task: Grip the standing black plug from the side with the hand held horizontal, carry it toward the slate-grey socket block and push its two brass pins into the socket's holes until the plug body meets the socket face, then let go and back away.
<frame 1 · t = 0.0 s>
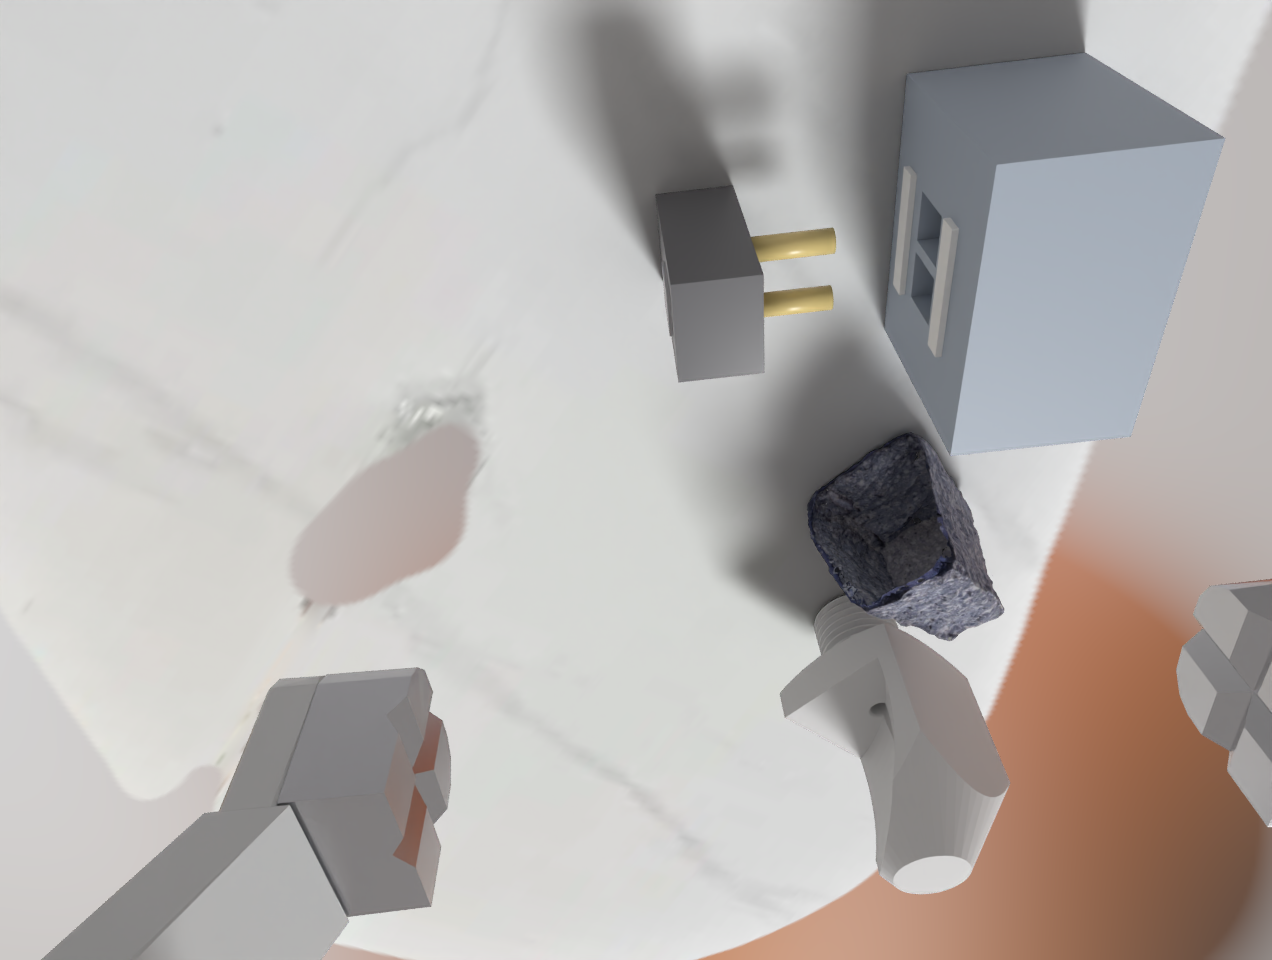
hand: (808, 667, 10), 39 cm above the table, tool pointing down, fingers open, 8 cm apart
stone: (890, 492, 60), on the table
socket: (979, 203, 47), on the table
plug: (696, 235, 48), on the table
light fixture: (851, 615, 68), on the table
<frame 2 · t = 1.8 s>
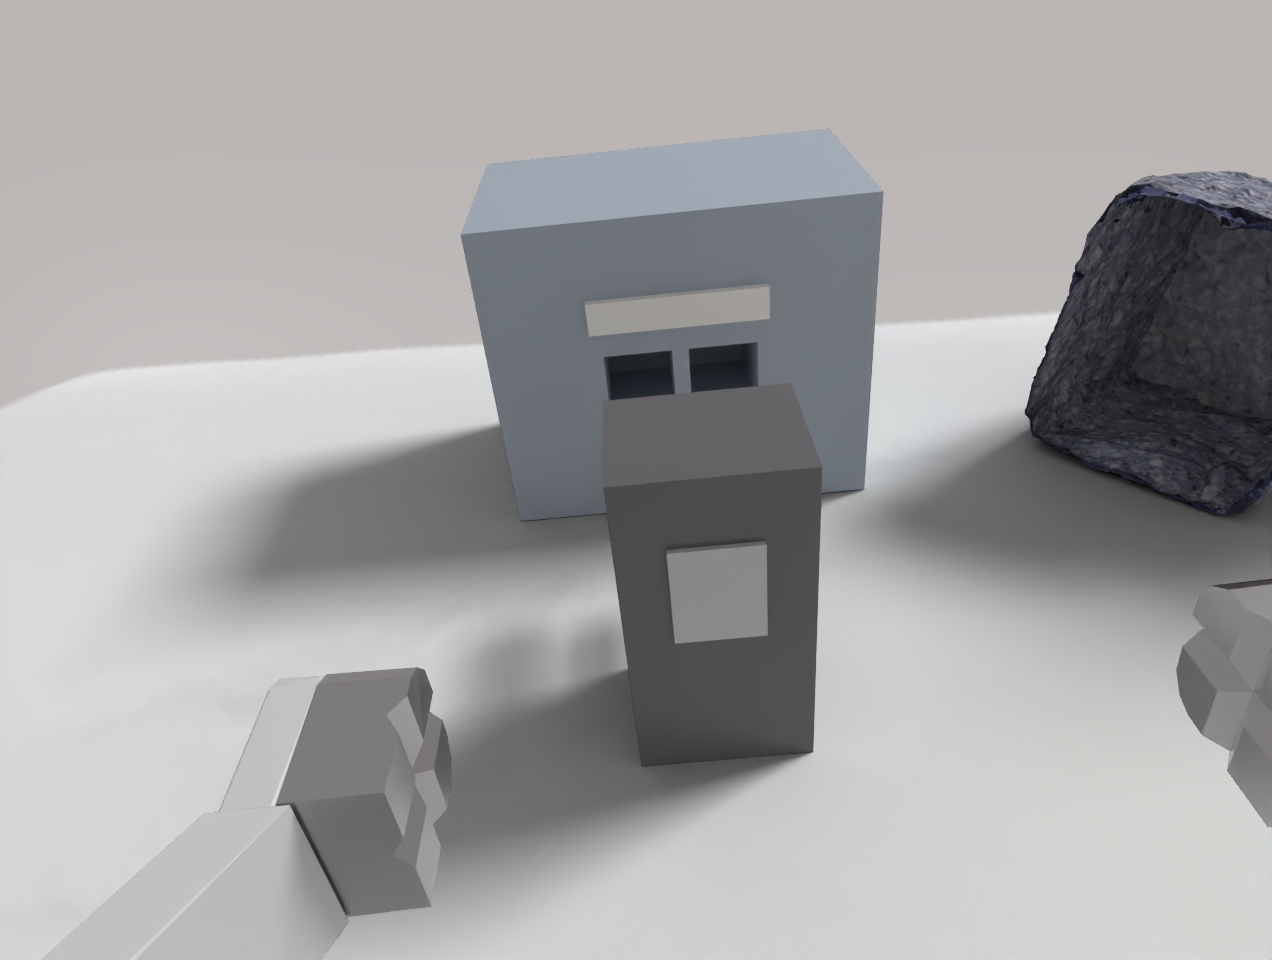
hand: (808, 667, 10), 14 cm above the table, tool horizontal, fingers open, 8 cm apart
stone: (1168, 444, 37), on the table
socket: (682, 445, 40), on the table
plug: (719, 706, 28), on the table
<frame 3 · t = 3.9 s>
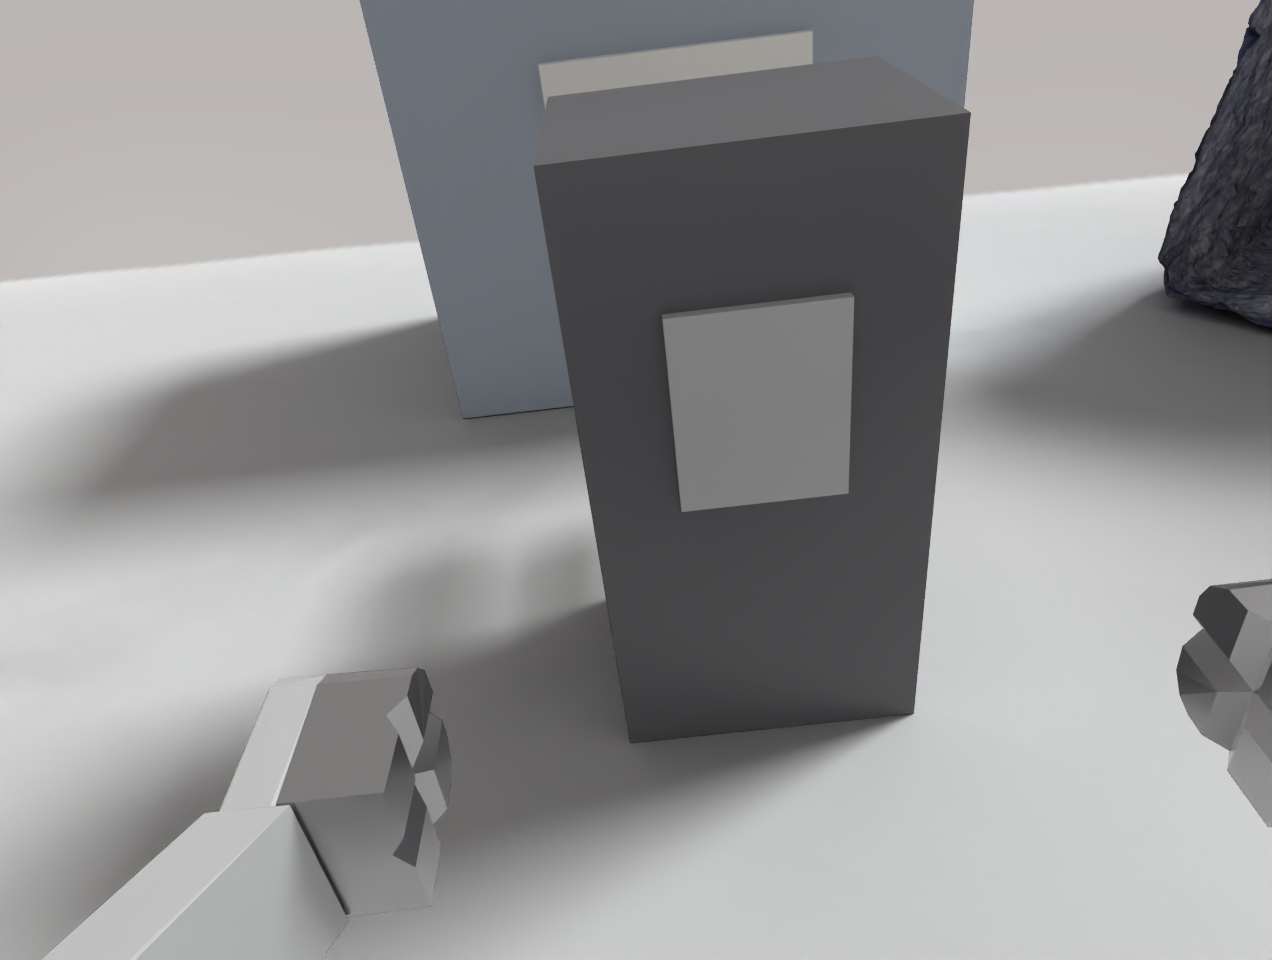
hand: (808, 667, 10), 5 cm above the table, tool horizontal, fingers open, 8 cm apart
socket: (686, 327, 30), on the table
plug: (754, 647, 17), on the table
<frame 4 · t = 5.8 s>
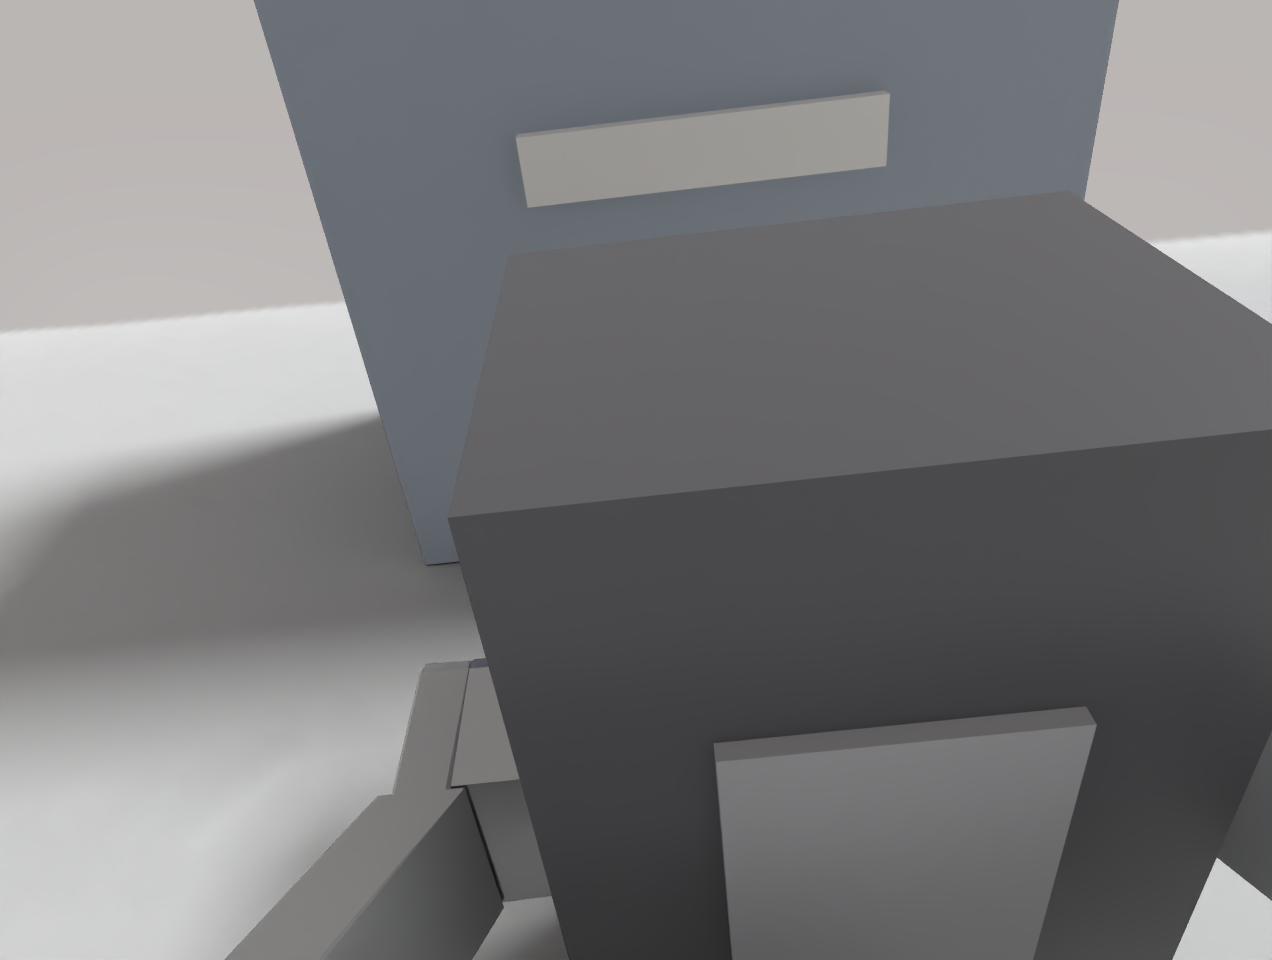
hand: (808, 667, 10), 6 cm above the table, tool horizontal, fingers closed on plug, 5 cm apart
socket: (705, 433, 24), on the table
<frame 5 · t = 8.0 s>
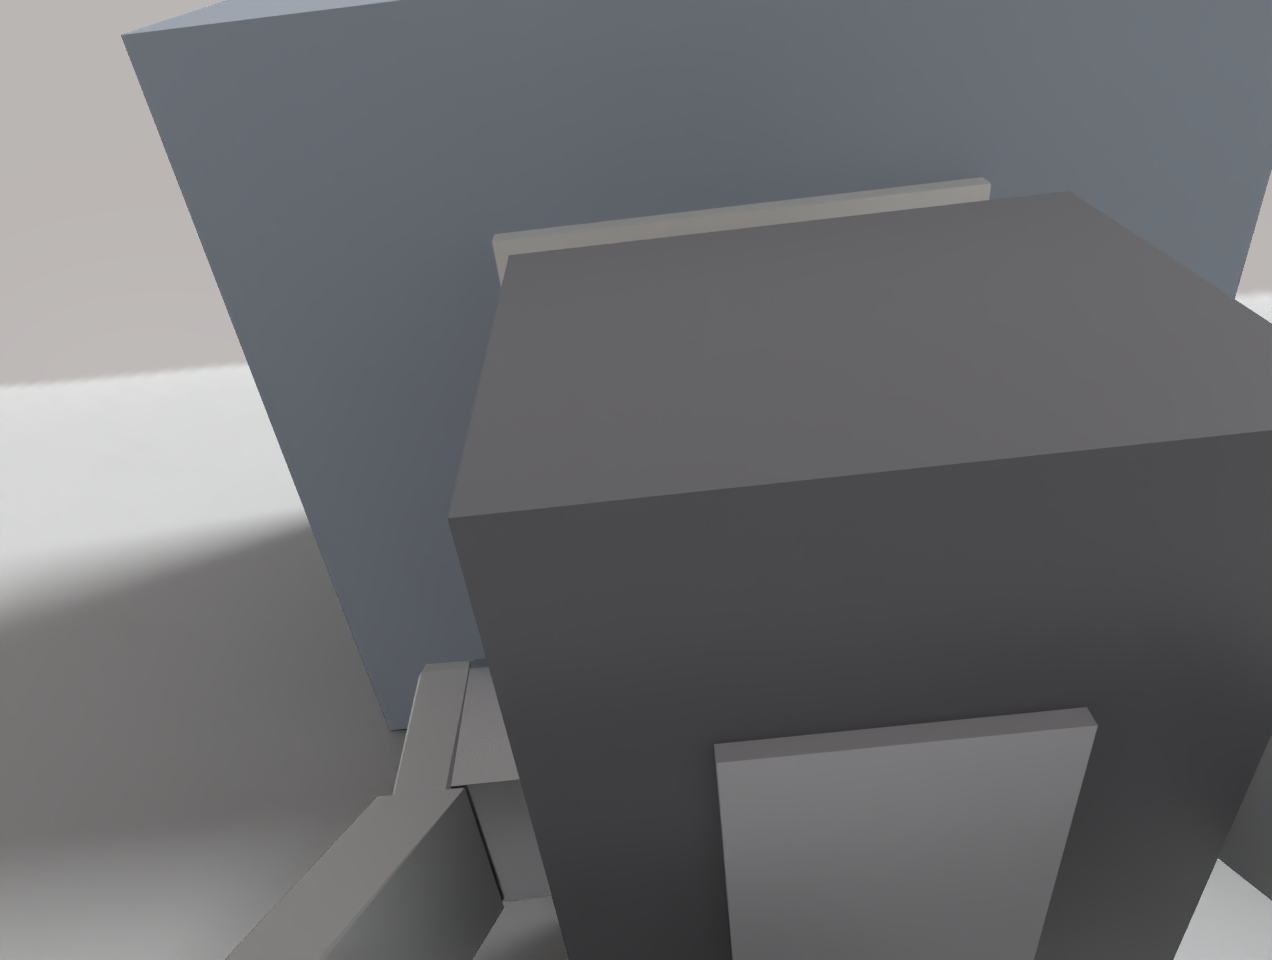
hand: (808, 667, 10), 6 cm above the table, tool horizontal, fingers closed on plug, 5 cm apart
socket: (727, 544, 21), on the table
when the fingers open (6 cm above the table, at t = 10.1 s): plug stays where it is, on the table.
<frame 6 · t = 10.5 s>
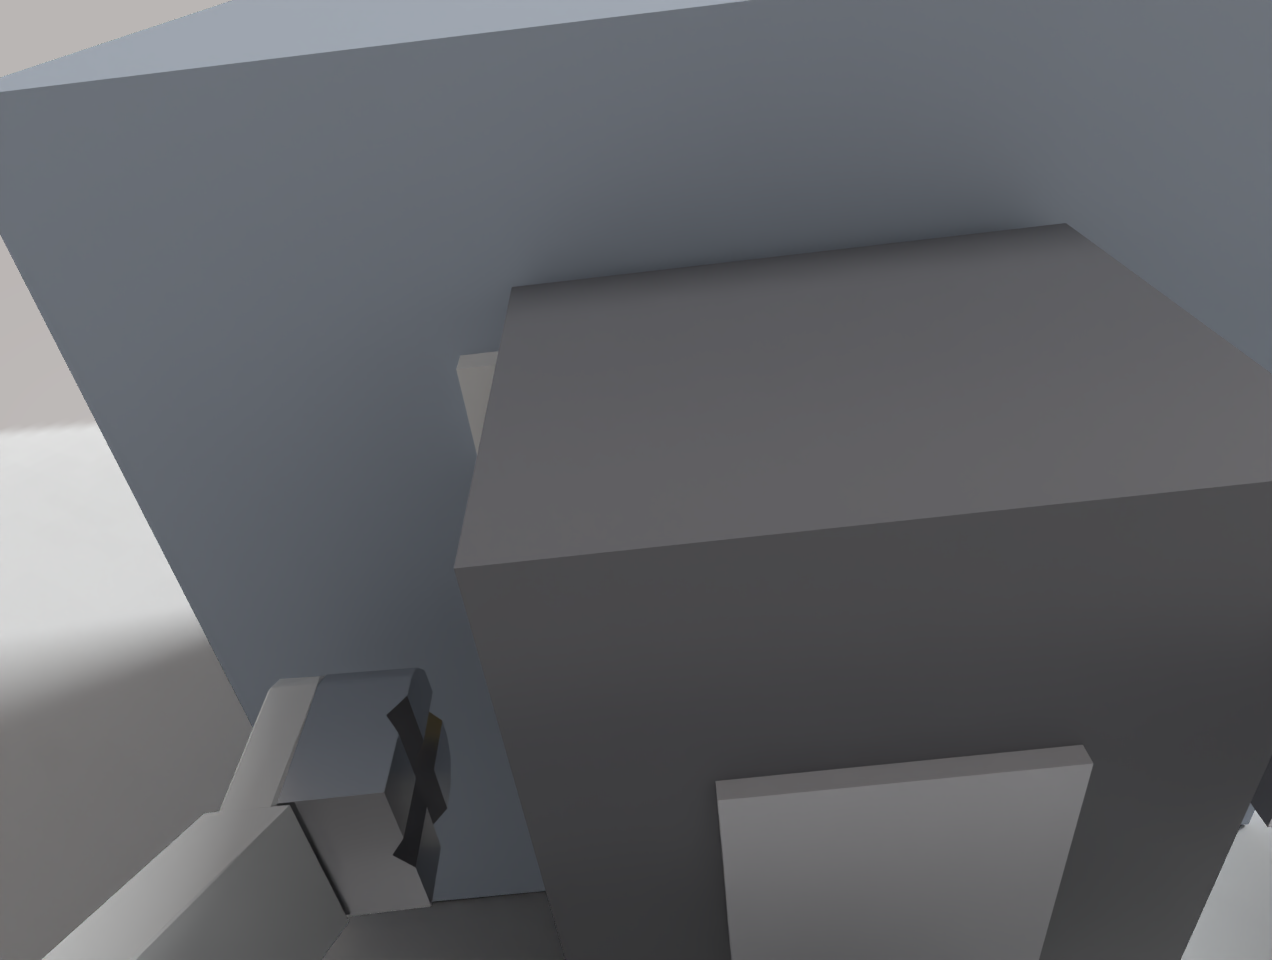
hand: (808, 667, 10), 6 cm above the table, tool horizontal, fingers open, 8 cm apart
socket: (749, 657, 18), on the table
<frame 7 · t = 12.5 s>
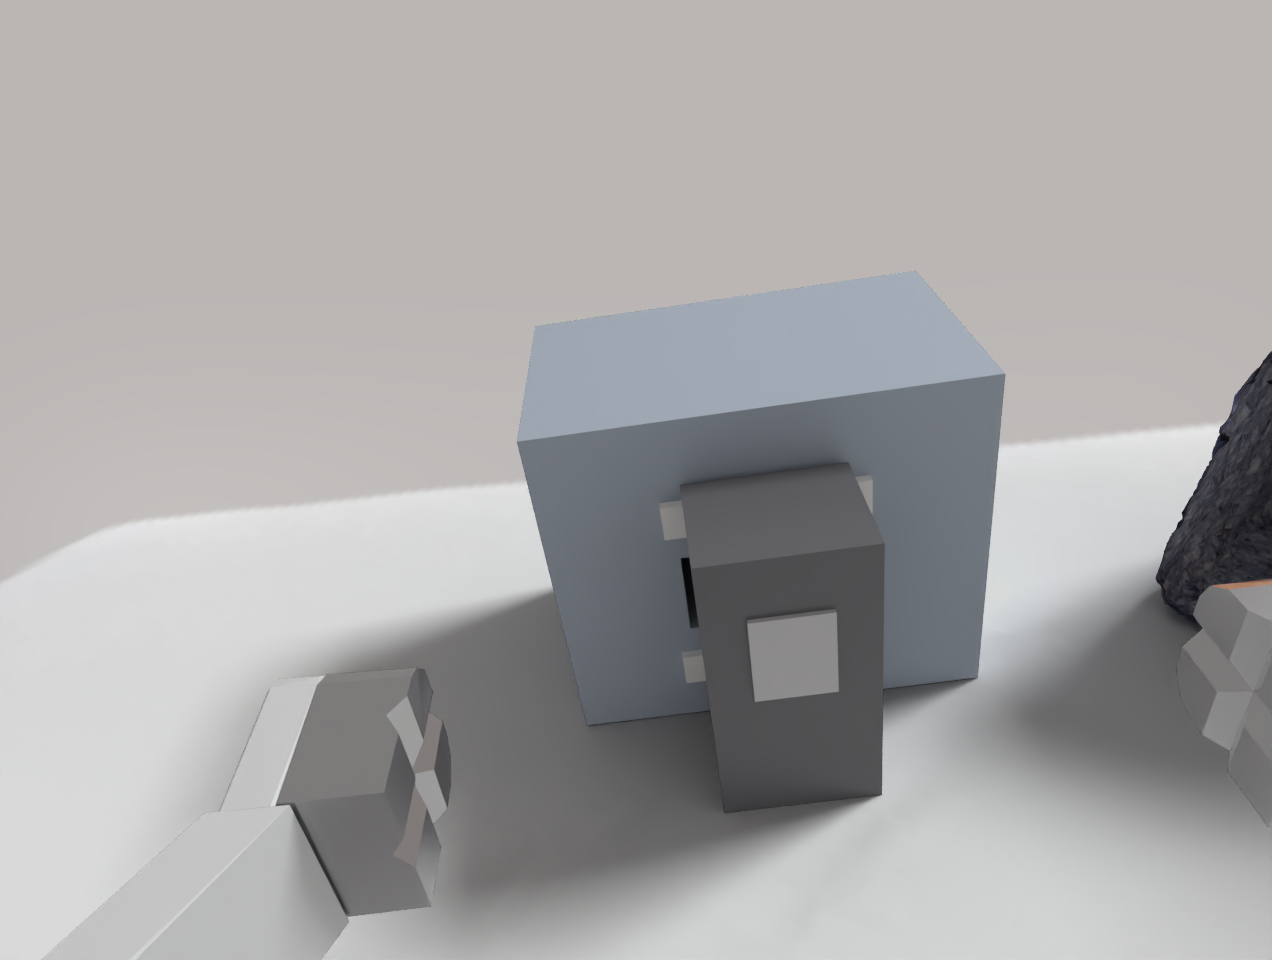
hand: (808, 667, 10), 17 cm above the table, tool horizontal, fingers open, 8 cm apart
socket: (761, 617, 36), on the table
plug: (791, 753, 30), on the table
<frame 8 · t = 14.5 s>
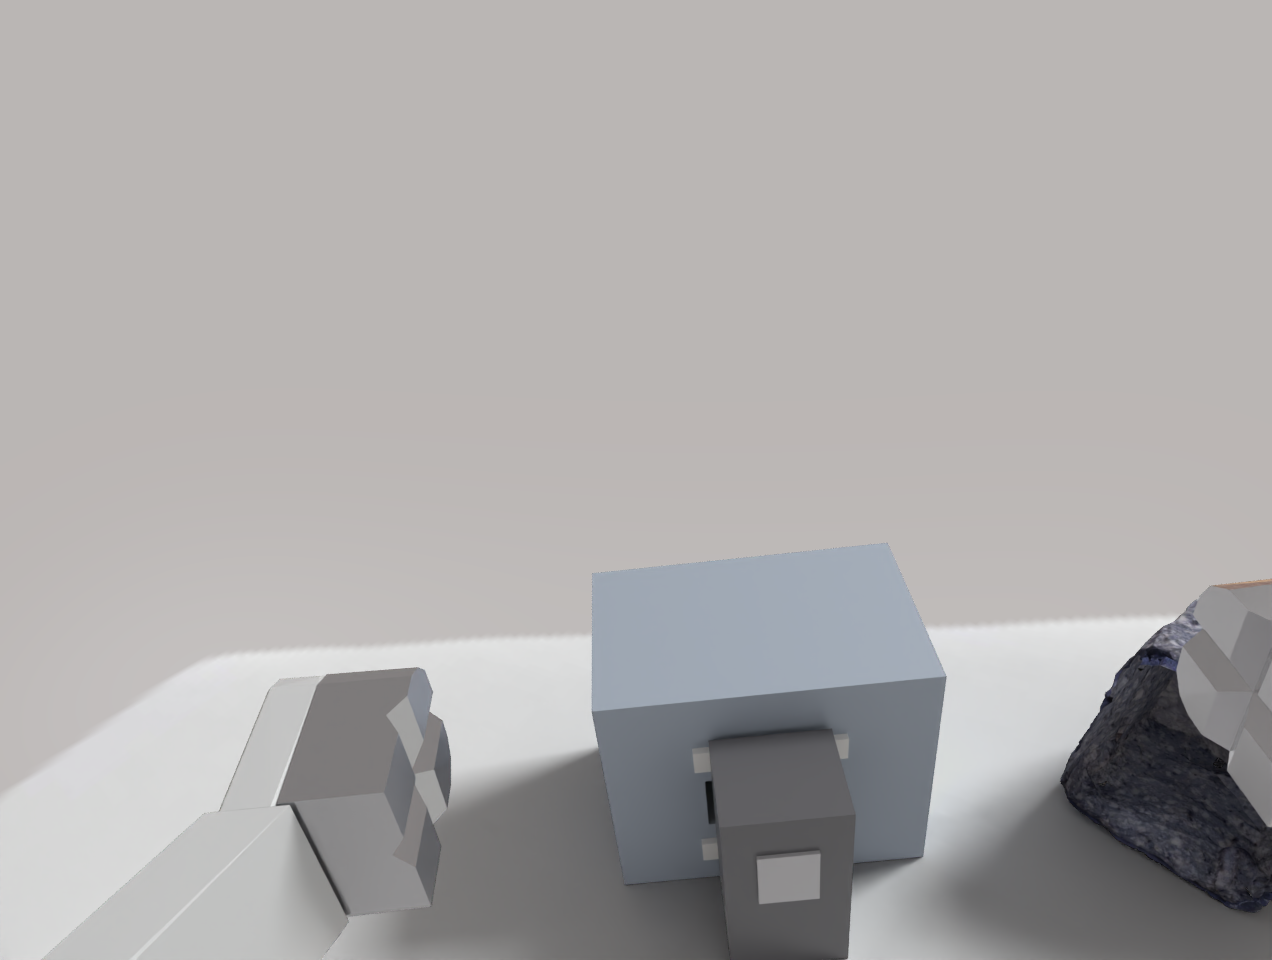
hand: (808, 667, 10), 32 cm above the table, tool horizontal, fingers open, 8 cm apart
stone: (1185, 805, 43), on the table
socket: (758, 789, 46), on the table
plug: (781, 918, 40), on the table, touching socket
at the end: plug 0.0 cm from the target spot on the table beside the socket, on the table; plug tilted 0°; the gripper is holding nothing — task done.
